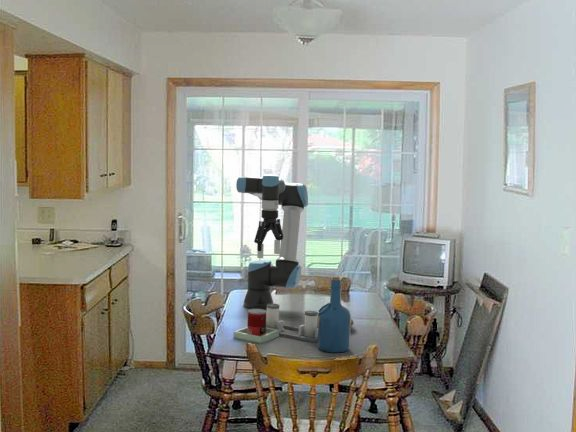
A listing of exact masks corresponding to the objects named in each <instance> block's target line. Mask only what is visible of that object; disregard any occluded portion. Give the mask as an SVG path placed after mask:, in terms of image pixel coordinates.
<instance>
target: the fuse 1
mask: <svg viewBox="0 0 576 432" xmlns="http://www.w3.org/2000/svg"><path fill="white" fill-rule="evenodd" d="M279 318H280V304H278V303H273V304H267V309H266V328H270V329H275V330H277V322H278V321H280V320H279Z"/></svg>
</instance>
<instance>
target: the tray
mask: <svg viewBox="0 0 576 432" xmlns="http://www.w3.org/2000/svg"><path fill="white" fill-rule="evenodd" d="M247 330H248V326H246V327H242V328H240V329H238V330H234V331H233V334H232V335H233V339H235V340H241V341H244V342H250V343H254V344H259V345H262V344H264V343H267V342H269V341H271V340H274V339H277V338H278V337H280V336H279V330H275V329H270V328H266V334H265V335H263V336H256V335H251V334H247Z"/></svg>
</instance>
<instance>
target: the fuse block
mask: <svg viewBox="0 0 576 432" xmlns="http://www.w3.org/2000/svg"><path fill="white" fill-rule="evenodd" d="M284 329H287V330H290V331H291V330H293V331H296V332H298V334H291V333H287V332H284ZM277 330H279V337H280V336H281V337H285V338H289V339H295V340H298V341H303V342H307V343H308V342H309V343H318V328H317V329H315V338H314V339H313V338H308V337H304V324H300V325H298V326H293V325H288V324H285V323H284V320H282V319H281V320H279V321H278V322H277Z"/></svg>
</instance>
